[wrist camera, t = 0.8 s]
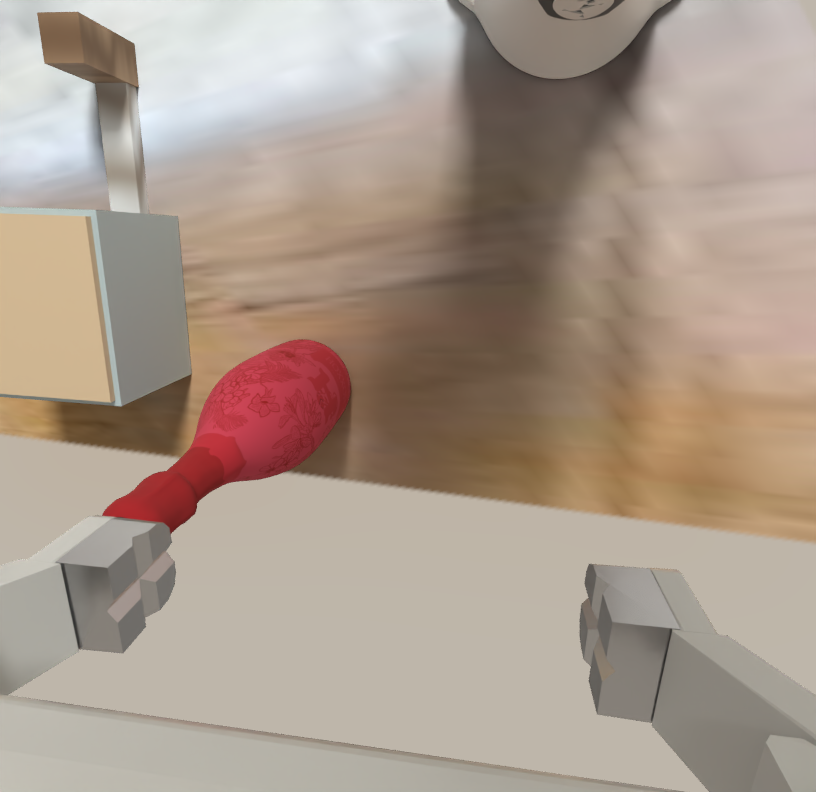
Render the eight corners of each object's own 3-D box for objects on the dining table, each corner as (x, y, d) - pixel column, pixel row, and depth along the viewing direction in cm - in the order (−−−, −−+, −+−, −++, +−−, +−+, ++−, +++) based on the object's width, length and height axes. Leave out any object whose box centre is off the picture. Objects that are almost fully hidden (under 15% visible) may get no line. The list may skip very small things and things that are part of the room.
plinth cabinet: (48, 212, 53) (-72, 204, 42) (177, 216, 51) (90, 209, 40) (72, 365, 58) (-30, 396, 46) (191, 373, 56) (116, 408, 45)
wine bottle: (369, 410, 55) (247, 597, 26) (286, 437, 57) (90, 637, 28) (333, 321, 52) (156, 419, 24) (248, 353, 55) (-6, 478, 26)
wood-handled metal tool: (98, 44, 48) (37, 12, 41) (134, 43, 47) (77, 11, 41) (122, 243, 53) (71, 243, 46) (154, 244, 53) (107, 245, 46)
